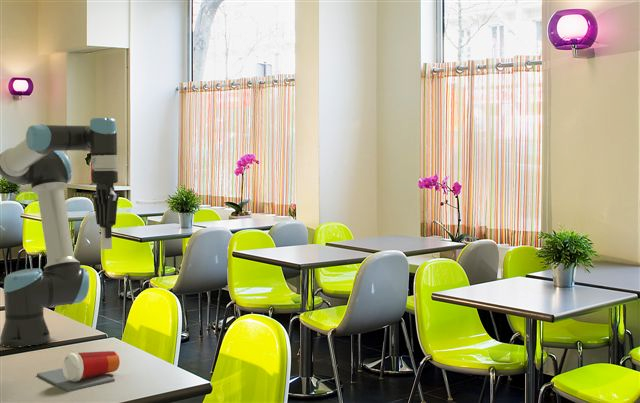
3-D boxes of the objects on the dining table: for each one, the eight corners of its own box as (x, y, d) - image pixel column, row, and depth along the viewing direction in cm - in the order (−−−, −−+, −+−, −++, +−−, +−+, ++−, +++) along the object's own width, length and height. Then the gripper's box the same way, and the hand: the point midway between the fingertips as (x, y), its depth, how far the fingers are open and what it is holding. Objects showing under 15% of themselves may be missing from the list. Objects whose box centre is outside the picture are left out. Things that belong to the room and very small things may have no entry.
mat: (37, 375, 212) (36, 373, 212) (82, 366, 221) (81, 364, 221) (67, 391, 197) (67, 389, 197) (114, 381, 206) (114, 378, 206)
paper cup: (100, 358, 216) (57, 364, 205) (114, 341, 213) (71, 346, 202) (112, 381, 213) (68, 388, 202) (126, 364, 210) (83, 370, 199)
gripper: (82, 170, 232) (85, 248, 233) (102, 170, 222) (105, 251, 224) (106, 169, 237) (108, 246, 238) (126, 169, 227) (128, 249, 229)
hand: (106, 248), depth 231 cm, fingers closed
